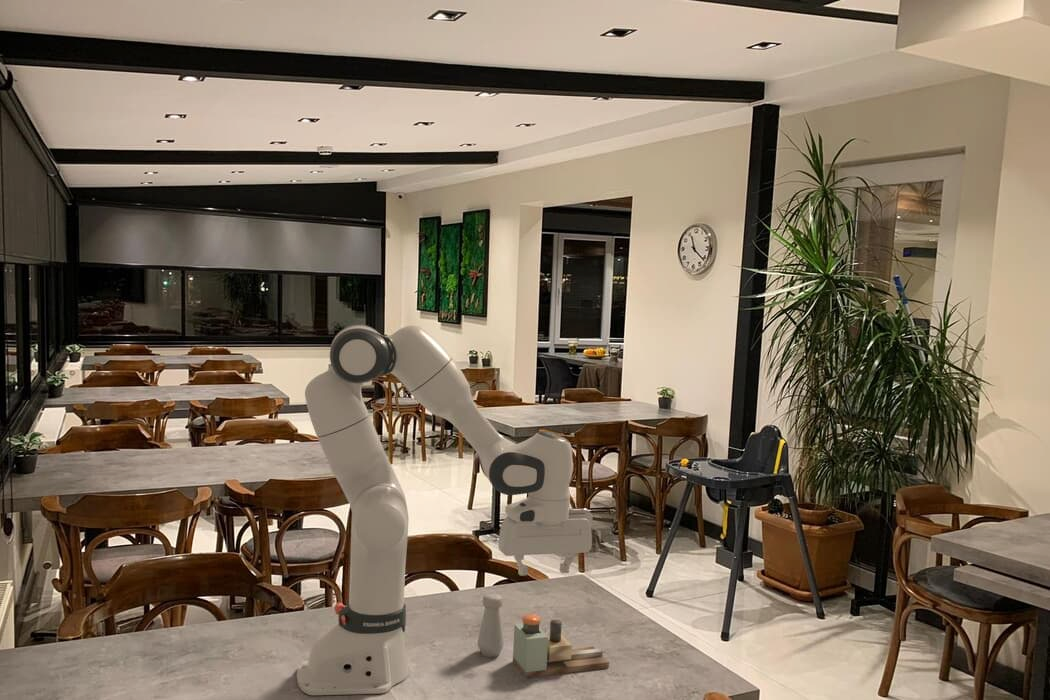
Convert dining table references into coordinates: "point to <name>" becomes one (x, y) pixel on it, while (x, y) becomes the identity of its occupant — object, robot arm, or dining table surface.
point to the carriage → (557, 643)
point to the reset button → (531, 624)
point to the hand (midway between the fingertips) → (543, 573)
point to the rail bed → (571, 663)
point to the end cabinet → (530, 649)
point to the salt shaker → (491, 627)
